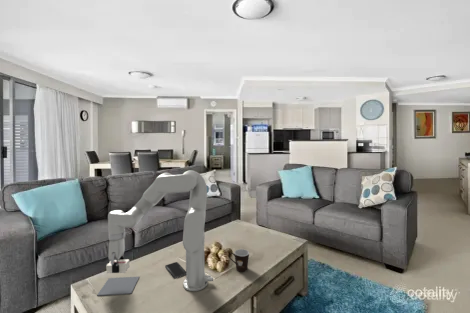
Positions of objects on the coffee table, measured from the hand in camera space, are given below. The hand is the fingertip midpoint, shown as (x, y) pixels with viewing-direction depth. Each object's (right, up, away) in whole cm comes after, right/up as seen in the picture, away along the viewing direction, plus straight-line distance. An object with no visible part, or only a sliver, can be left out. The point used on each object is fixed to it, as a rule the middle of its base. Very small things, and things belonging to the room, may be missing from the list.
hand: (118, 268), depth 127 cm
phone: (+26, -9, +16) cm, 32 cm away
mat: (0, -10, +1) cm, 10 cm away
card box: (0, -1, 0) cm, 1 cm away
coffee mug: (+63, -8, +18) cm, 66 cm away
